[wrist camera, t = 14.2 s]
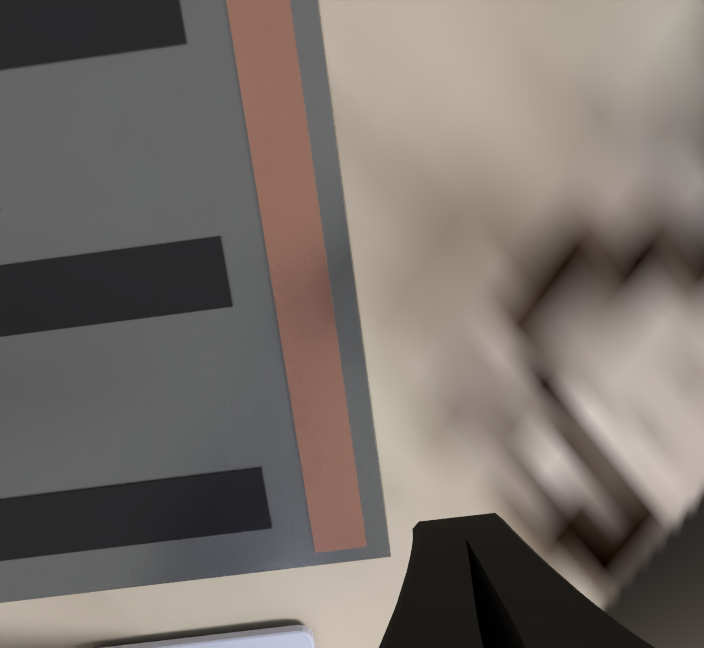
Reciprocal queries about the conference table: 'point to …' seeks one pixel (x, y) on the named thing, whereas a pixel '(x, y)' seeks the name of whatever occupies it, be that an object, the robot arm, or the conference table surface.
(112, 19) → the panel
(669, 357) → the conference table surface
